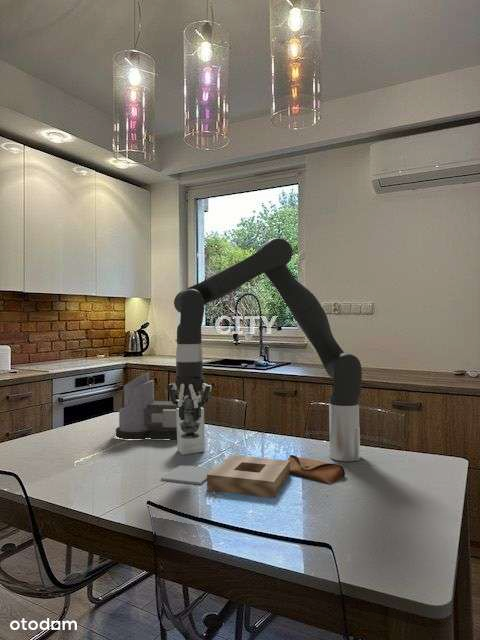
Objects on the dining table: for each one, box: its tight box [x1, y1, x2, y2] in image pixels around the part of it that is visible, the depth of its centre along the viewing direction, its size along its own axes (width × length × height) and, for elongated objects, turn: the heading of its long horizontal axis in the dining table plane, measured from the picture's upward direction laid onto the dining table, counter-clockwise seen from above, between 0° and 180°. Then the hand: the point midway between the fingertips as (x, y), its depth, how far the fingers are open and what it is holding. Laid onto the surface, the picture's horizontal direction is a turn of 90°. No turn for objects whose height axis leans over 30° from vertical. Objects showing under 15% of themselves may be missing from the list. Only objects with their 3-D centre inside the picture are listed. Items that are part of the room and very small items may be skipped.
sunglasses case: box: [287, 454, 346, 485], centre depth 132 cm, size 18×7×7 cm
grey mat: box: [160, 464, 215, 486], centre depth 131 cm, size 12×12×1 cm
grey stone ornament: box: [180, 395, 200, 439], centre depth 131 cm, size 6×6×12 cm
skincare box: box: [176, 406, 206, 456], centre depth 155 cm, size 8×6×15 cm
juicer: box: [115, 372, 179, 440], centre depth 177 cm, size 30×16×24 cm, turn 81°
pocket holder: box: [206, 454, 291, 499], centre depth 126 cm, size 18×18×4 cm
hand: (189, 419), depth 131 cm, fingers closed on grey stone ornament, 3 cm apart
